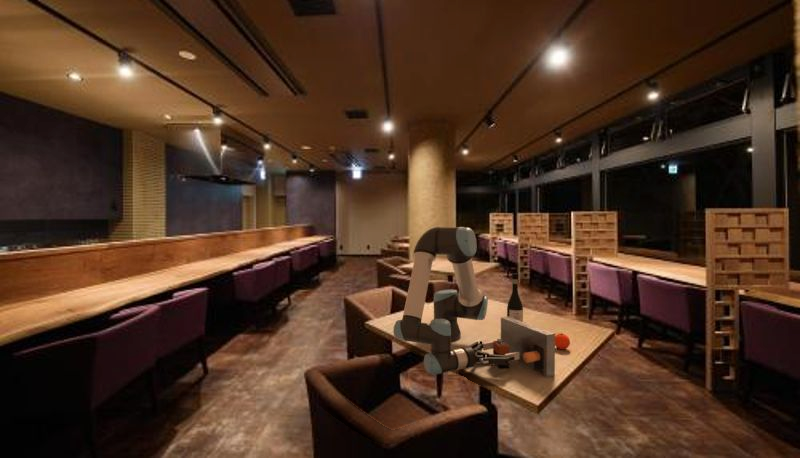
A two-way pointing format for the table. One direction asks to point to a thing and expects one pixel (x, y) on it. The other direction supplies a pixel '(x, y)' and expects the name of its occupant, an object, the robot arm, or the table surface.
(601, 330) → the table surface
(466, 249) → the robot arm
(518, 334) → the panel
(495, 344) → the battery
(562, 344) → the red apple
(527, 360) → the orange rounded cylinder
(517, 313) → the wine bottle
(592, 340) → the table surface
